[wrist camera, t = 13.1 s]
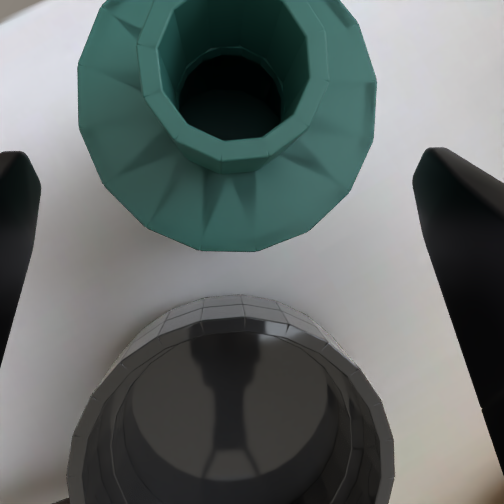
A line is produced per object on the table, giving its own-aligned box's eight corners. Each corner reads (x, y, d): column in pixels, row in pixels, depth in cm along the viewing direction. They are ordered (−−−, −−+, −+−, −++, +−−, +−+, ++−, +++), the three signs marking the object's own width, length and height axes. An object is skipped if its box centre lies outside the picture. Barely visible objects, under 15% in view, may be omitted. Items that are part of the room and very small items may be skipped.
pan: (246, 580, 21) (252, 678, 17) (47, 438, 20) (-4, 505, 15) (407, 399, 21) (457, 450, 16) (218, 238, 19) (217, 248, 15)
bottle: (261, 251, 19) (331, 325, 7) (131, 194, 19) (-44, 167, 6) (318, 123, 19) (500, -38, 7) (188, 59, 18) (117, -256, 6)
